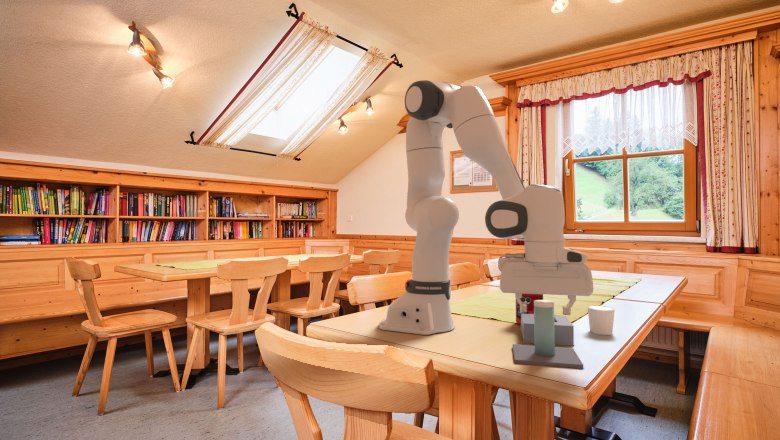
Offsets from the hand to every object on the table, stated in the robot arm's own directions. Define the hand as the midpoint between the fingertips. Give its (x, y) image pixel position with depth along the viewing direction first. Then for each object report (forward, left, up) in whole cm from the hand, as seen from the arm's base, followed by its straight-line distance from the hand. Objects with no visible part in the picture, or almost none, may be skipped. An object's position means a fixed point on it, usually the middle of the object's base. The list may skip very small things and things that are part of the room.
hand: (544, 313), depth 95 cm
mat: (0, 0, -10) cm, 10 cm away
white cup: (+18, +27, -10) cm, 34 cm away
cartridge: (0, 0, -9) cm, 9 cm away
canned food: (-1, +32, -10) cm, 34 cm away
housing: (+2, +17, -10) cm, 20 cm away
